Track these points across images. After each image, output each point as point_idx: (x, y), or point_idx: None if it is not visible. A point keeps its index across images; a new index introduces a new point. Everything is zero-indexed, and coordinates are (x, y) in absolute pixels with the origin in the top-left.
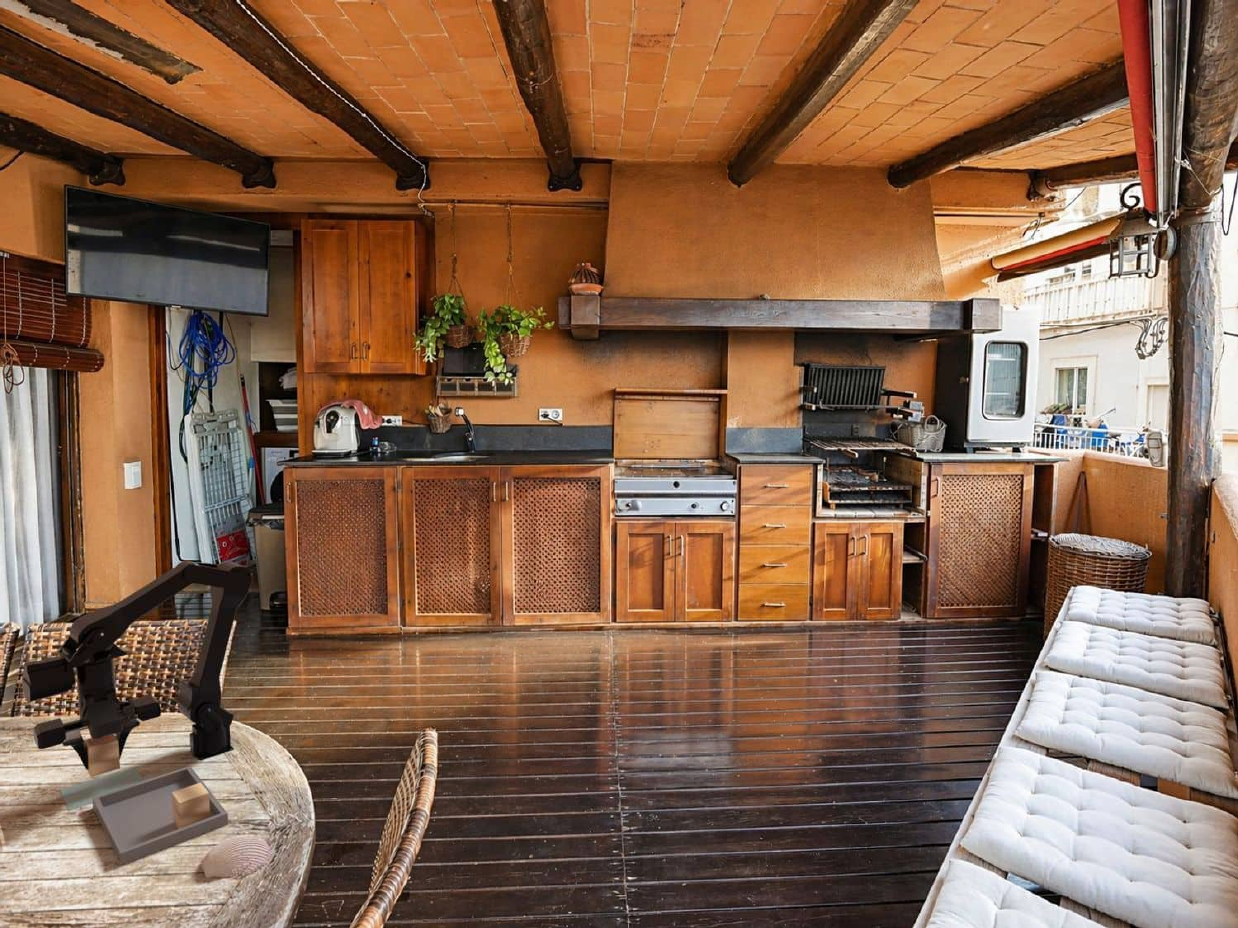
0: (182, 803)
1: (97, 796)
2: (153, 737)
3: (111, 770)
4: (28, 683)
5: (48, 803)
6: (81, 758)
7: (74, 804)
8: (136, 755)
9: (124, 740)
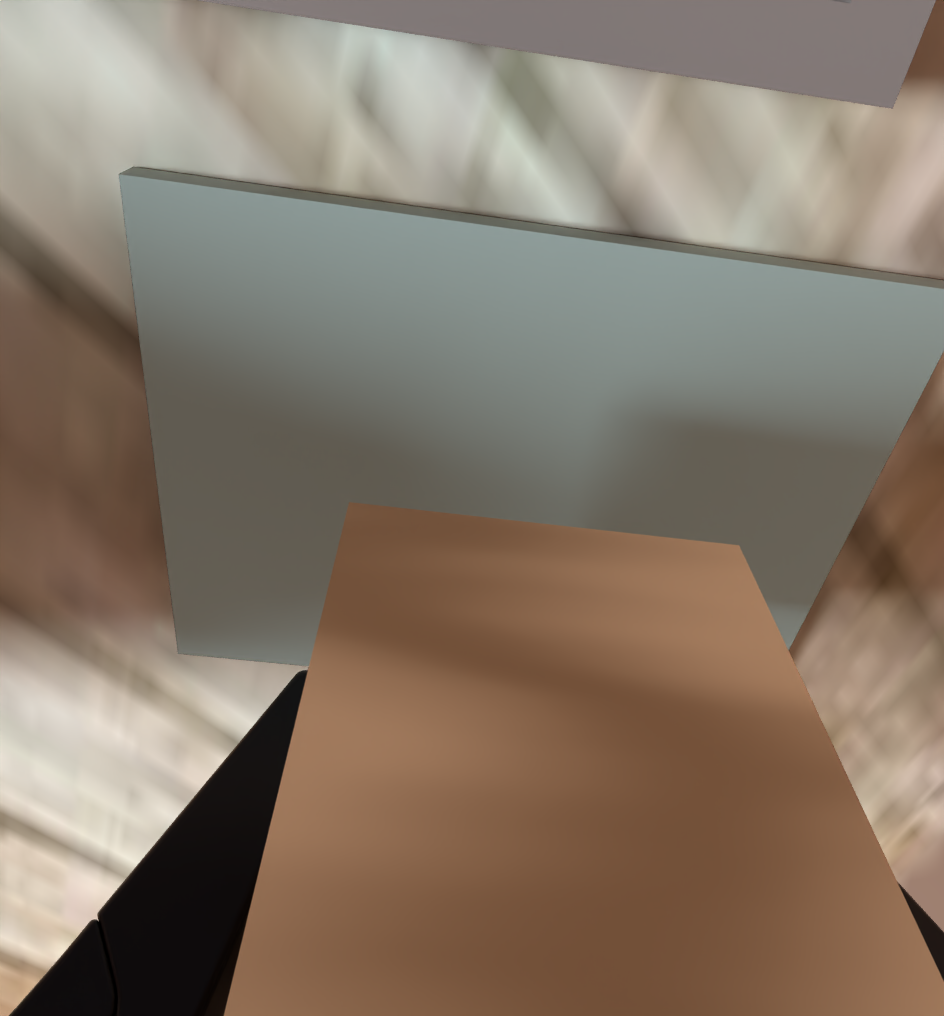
0: None
1: (827, 82)
2: (15, 914)
3: (469, 517)
4: None
5: (902, 600)
6: (912, 910)
7: (858, 378)
8: (148, 799)
9: (76, 992)
